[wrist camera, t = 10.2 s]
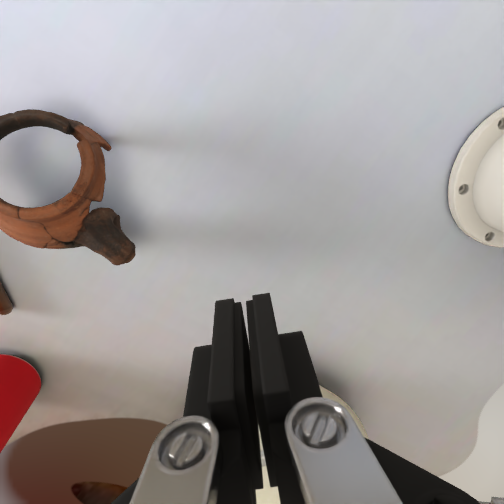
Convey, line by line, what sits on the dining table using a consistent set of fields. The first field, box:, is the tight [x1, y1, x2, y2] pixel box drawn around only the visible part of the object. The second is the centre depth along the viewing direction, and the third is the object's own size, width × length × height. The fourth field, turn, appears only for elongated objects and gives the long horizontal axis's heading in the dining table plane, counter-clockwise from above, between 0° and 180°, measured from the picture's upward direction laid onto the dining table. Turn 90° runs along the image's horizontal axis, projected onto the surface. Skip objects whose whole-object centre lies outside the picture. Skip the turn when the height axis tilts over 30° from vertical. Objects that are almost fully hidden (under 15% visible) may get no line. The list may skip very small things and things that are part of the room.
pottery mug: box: [0, 110, 135, 265], centre depth 25 cm, size 12×10×8 cm
